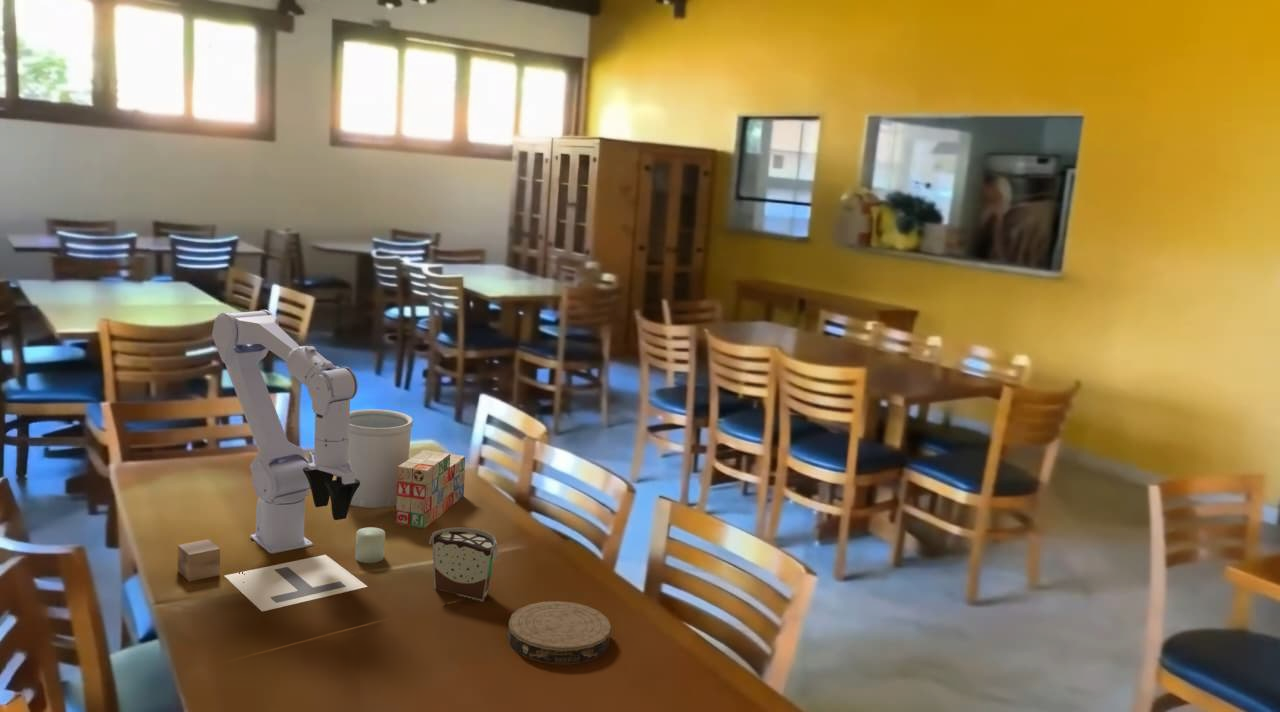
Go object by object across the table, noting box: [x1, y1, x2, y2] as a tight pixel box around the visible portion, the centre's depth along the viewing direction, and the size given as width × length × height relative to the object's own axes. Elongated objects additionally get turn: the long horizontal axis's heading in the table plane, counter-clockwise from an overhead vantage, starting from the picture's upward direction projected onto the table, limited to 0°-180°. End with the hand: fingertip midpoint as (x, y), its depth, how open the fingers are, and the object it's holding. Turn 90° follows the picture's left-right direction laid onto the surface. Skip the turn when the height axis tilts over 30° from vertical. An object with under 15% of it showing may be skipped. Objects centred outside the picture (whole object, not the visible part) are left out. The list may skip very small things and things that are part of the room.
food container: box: [428, 527, 499, 602], centre depth 170 cm, size 12×6×10 cm, turn 71°
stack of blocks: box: [394, 449, 466, 529], centre depth 206 cm, size 21×6×12 cm, turn 169°
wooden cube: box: [177, 538, 221, 583], centre depth 167 cm, size 5×5×5 cm
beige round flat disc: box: [507, 600, 612, 665], centre depth 155 cm, size 16×16×3 cm
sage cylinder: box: [354, 526, 386, 564], centre depth 179 cm, size 5×5×5 cm
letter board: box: [224, 554, 368, 613], centre depth 167 cm, size 16×18×1 cm
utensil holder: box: [349, 408, 414, 509], centre depth 209 cm, size 15×15×18 cm
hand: (330, 512), depth 174 cm, fingers open, 7 cm apart
